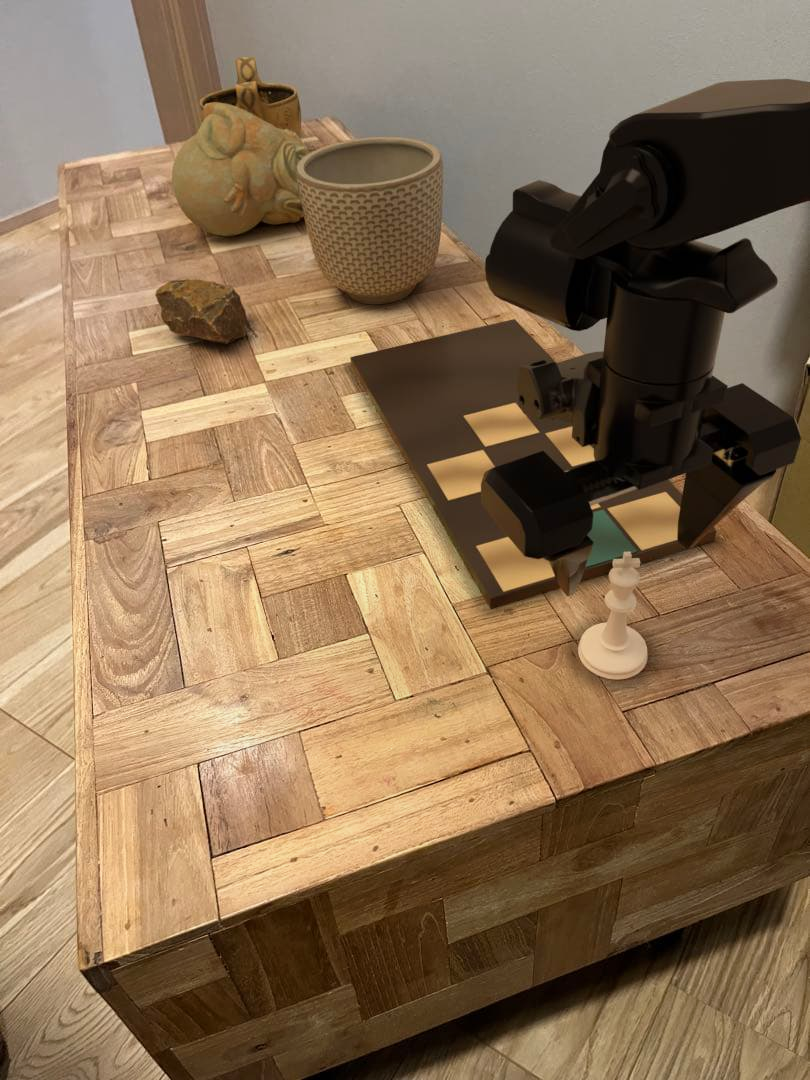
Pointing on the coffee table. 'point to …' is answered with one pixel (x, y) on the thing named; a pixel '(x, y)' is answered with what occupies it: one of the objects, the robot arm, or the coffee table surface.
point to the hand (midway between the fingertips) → (626, 567)
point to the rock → (202, 310)
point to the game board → (498, 454)
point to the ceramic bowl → (260, 98)
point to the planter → (373, 214)
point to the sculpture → (238, 172)
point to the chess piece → (616, 628)
